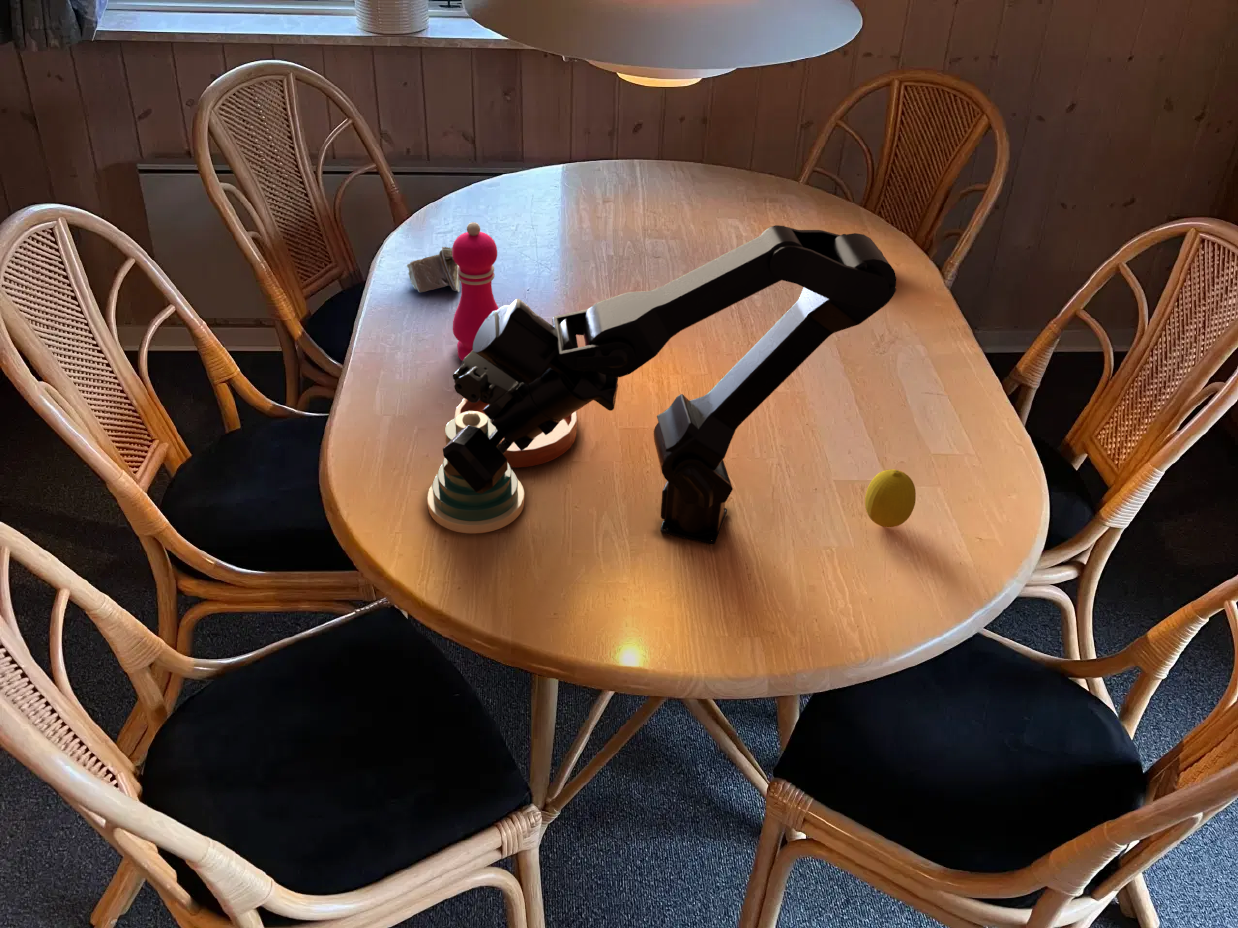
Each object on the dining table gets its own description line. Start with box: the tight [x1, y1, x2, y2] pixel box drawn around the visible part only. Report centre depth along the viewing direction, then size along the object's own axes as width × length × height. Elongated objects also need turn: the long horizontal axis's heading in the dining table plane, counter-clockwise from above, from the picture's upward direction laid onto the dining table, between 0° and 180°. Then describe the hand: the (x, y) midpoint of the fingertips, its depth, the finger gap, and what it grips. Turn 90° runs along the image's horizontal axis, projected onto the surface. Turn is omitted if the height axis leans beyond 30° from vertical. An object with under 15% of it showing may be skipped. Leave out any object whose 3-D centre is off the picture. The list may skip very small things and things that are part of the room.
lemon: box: [864, 468, 917, 528], centre depth 120 cm, size 6×6×8 cm
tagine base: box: [453, 397, 578, 468], centre depth 134 cm, size 15×16×3 cm
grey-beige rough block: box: [406, 246, 461, 294], centre depth 165 cm, size 10×7×12 cm
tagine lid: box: [426, 411, 525, 534], centre depth 119 cm, size 11×11×13 cm
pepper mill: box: [451, 221, 500, 362], centre depth 144 cm, size 7×7×20 cm
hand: (462, 453), depth 119 cm, fingers open, 7 cm apart
